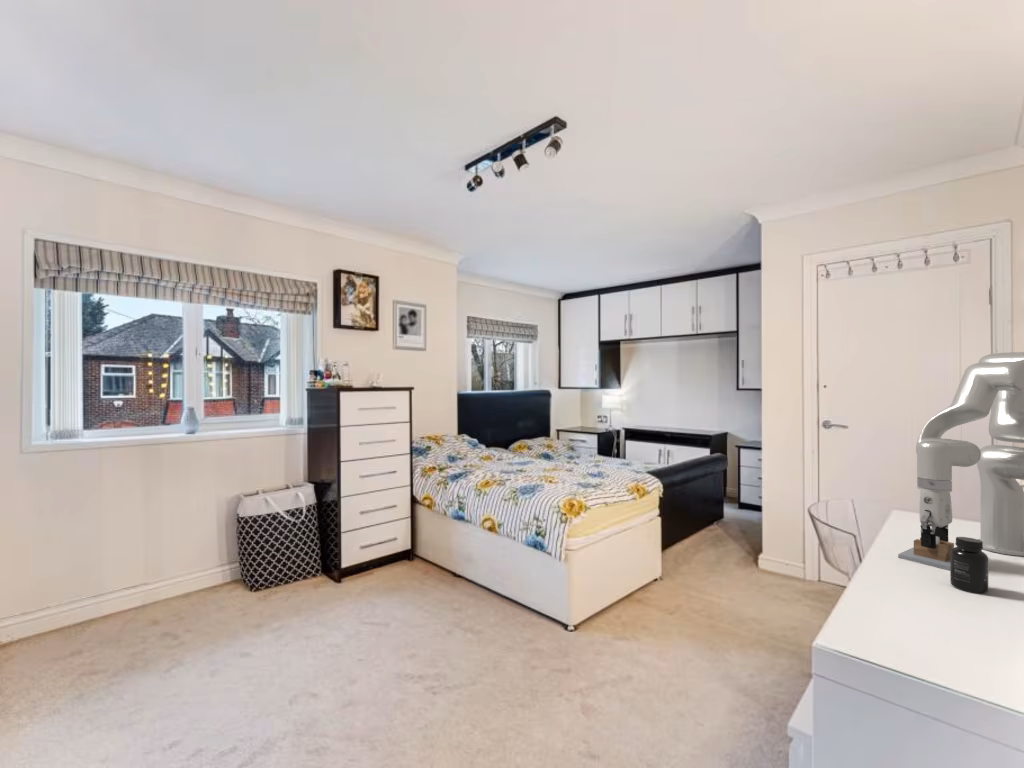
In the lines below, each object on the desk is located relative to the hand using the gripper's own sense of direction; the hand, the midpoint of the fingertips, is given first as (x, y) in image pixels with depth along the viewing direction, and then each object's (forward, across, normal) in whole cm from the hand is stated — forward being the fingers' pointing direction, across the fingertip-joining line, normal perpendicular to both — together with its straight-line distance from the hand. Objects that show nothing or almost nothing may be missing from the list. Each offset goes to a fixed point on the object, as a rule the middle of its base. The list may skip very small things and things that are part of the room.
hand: (934, 544), depth 139 cm
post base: (+4, 0, 0) cm, 4 cm away
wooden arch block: (+3, 0, 0) cm, 3 cm away
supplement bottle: (+4, -18, -12) cm, 22 cm away
